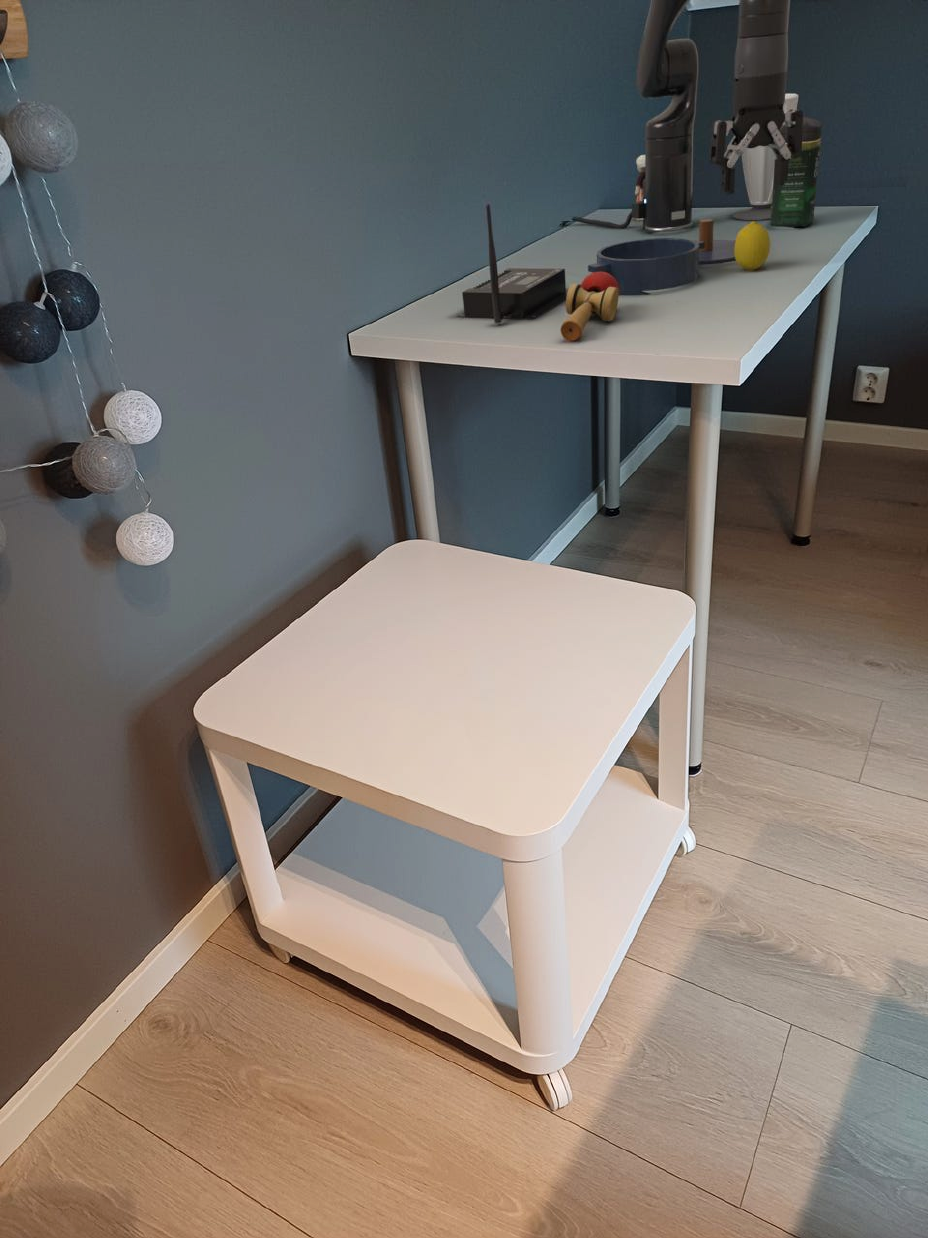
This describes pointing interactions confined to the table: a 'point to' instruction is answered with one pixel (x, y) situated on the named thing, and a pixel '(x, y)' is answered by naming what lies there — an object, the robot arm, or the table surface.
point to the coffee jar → (798, 180)
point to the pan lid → (714, 245)
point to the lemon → (752, 246)
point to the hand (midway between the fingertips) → (753, 189)
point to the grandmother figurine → (640, 179)
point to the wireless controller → (514, 290)
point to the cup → (761, 174)
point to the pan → (650, 264)
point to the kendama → (590, 302)
